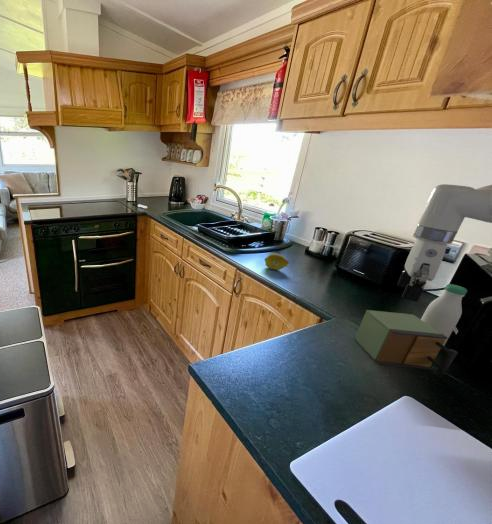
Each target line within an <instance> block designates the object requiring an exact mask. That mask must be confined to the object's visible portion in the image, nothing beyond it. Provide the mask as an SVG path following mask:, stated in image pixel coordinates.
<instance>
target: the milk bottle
mask: <svg viewBox="0 0 492 524" xmlns="http://www.w3.org/2000/svg"><path fill="white" fill-rule="evenodd" d="M467 293H468V289H467V288H466V287H463V286H460V285H457V284H453V283H447V284H446V286H445V287H444V289H443V293H442V294H440V296H438V297H437V298H435V299H434V300H432V301H431V302H430V303H429V305H428V306H427V307H426V309H425V311H424V312H423V315H422V316H421V318H420V320H422V321H423V322H425V323H426V324H428V325H429V326H431V327H432V328H434V329H435V330H436V331H438V332H439V333H441V334H443V335H444V336H446V337H447V339H446V340H445V342H444V344H443V346H446V344H447V342H448V340H449V338H450V337H451V335H452V333H453V331H454V330H455V329H456V326H457V324H458V323H459V321H460V319H461V317H462V314H463V307H462V300H463V297H465V295H466V294H467Z"/></svg>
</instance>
